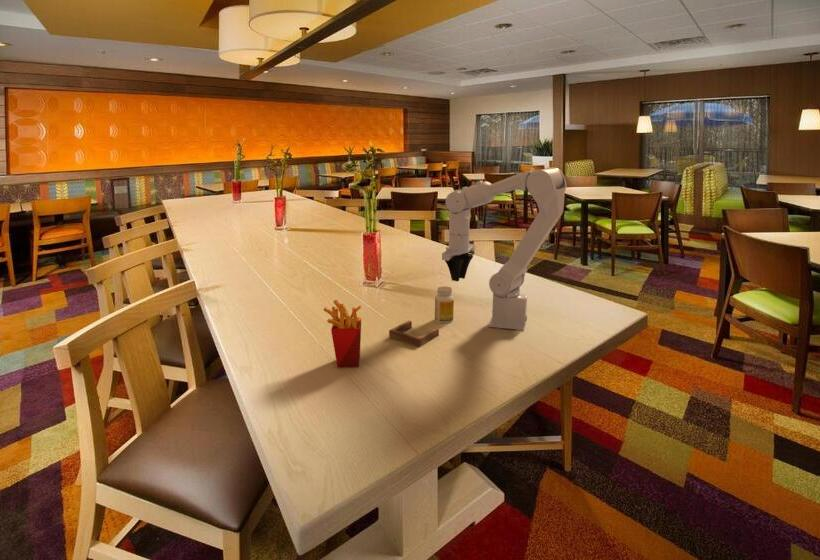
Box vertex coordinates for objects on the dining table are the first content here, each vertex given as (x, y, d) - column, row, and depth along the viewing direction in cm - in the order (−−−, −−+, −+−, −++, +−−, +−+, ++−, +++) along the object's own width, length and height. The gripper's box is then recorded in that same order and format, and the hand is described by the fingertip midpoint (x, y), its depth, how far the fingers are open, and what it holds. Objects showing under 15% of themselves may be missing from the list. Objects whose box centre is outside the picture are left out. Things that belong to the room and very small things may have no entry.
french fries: (364, 355, 116) (361, 297, 112) (362, 372, 108) (359, 309, 104) (327, 357, 116) (323, 298, 112) (322, 373, 108) (318, 310, 104)
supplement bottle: (430, 320, 137) (430, 288, 135) (442, 315, 141) (442, 284, 138) (445, 325, 134) (445, 292, 131) (457, 320, 138) (457, 288, 135)
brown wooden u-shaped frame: (408, 327, 133) (408, 320, 132) (438, 335, 127) (438, 328, 126) (389, 337, 126) (389, 330, 126) (419, 346, 121) (419, 339, 120)
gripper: (460, 227, 144) (459, 271, 148) (432, 236, 133) (432, 282, 137) (481, 230, 140) (479, 275, 144) (454, 239, 129) (453, 287, 133)
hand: (458, 279), depth 140 cm, fingers open, 3 cm apart
